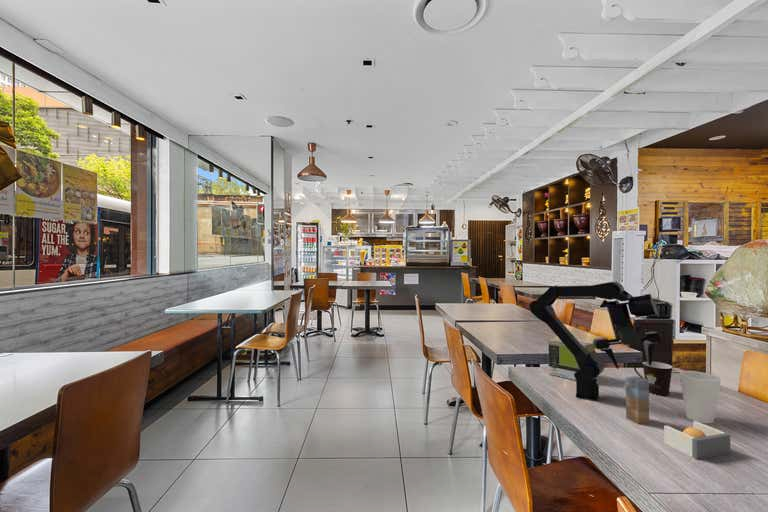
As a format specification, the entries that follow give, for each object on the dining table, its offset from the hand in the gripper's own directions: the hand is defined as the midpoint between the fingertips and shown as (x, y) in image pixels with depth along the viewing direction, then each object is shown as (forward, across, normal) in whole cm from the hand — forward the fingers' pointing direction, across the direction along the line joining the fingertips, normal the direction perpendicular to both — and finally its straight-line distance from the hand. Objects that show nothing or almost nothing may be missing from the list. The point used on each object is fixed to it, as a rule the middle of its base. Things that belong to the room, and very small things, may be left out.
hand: (633, 367), depth 119 cm
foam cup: (+17, +13, -1) cm, 21 cm away
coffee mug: (+14, +8, +21) cm, 26 cm away
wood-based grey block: (+13, -4, -9) cm, 17 cm away
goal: (+17, +5, -23) cm, 28 cm away
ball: (+14, +5, -23) cm, 27 cm away
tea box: (+7, -17, +29) cm, 35 cm away
